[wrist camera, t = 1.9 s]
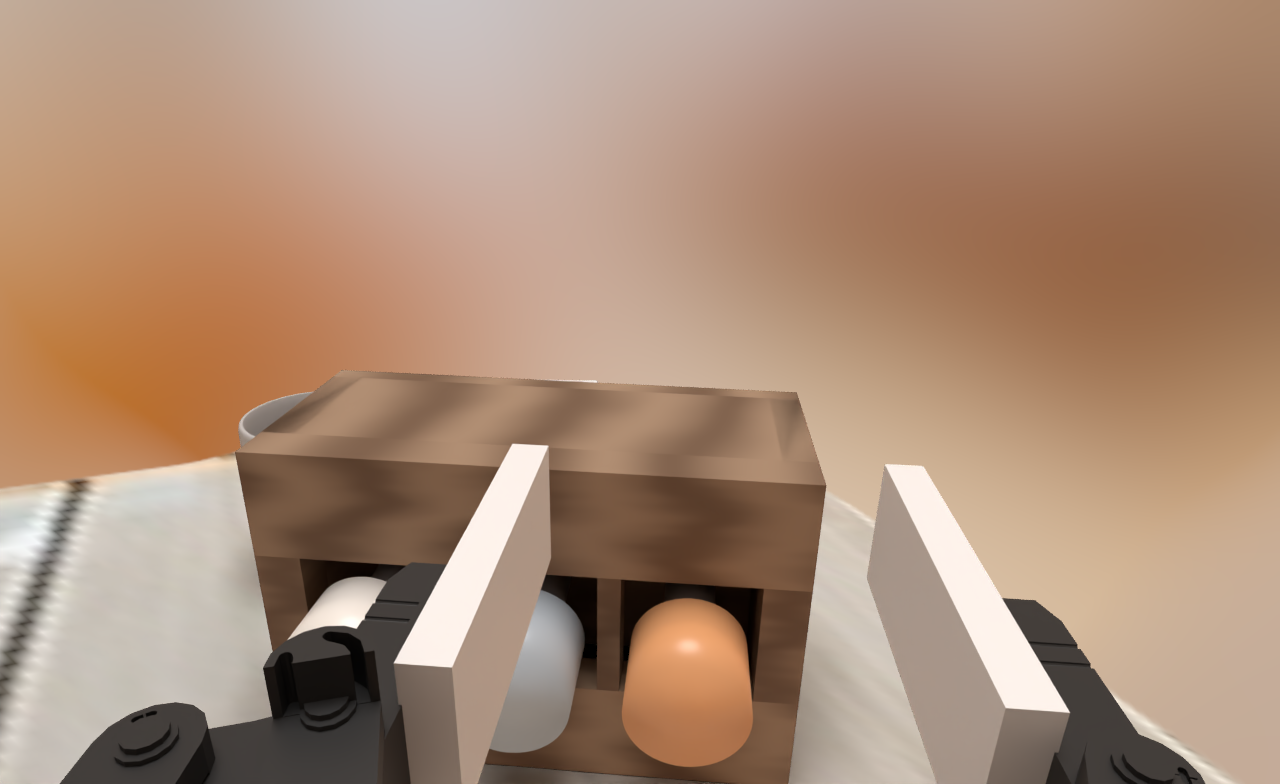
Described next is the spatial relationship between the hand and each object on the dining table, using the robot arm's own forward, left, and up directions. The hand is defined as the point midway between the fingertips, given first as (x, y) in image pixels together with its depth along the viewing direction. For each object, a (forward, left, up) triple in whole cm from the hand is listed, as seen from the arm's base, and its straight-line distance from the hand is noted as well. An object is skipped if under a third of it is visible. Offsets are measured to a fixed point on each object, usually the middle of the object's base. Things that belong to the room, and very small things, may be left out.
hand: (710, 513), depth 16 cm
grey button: (-7, +13, -16) cm, 22 cm away
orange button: (0, +13, -16) cm, 21 cm away
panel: (-7, +18, -22) cm, 29 cm away
